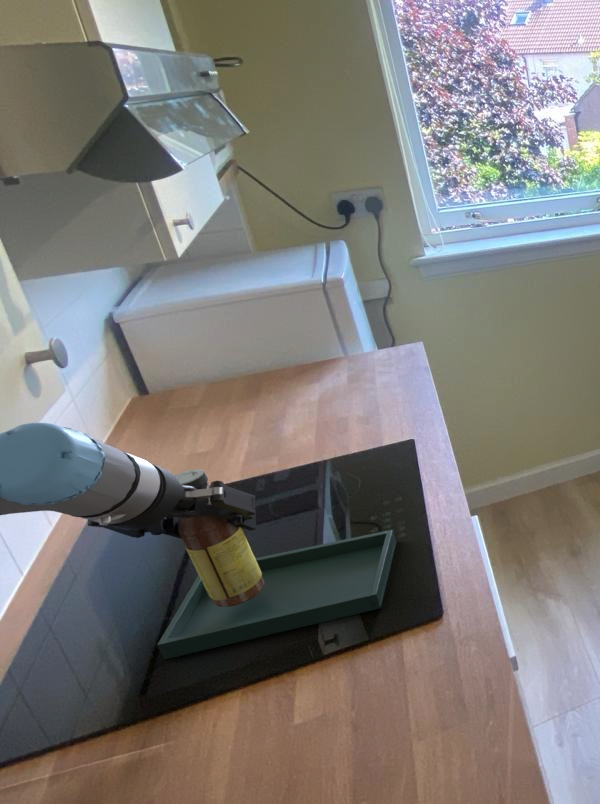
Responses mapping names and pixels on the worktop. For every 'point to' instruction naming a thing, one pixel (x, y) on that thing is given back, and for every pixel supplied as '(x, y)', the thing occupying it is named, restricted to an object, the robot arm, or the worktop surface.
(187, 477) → the sauce bottle
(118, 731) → the worktop surface
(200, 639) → the tray
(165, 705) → the worktop surface
